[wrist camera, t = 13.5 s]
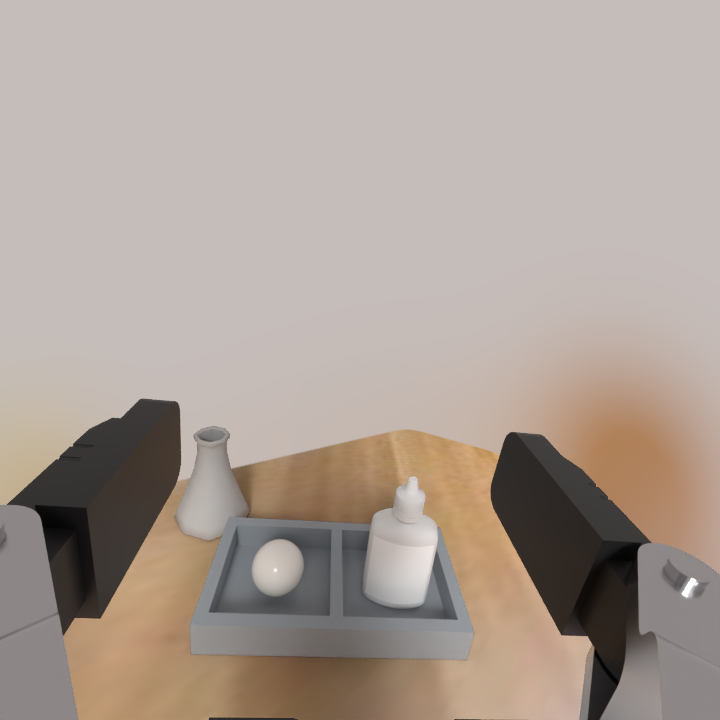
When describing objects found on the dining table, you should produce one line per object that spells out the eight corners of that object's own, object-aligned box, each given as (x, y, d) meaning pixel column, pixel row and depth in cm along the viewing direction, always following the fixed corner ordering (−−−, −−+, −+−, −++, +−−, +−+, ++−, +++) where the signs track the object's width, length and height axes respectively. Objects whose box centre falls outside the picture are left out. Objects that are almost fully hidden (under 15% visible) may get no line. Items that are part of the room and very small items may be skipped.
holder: (190, 654, 30) (189, 624, 29) (228, 541, 40) (228, 516, 39) (466, 659, 32) (474, 632, 31) (434, 550, 42) (439, 527, 41)
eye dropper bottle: (409, 629, 33) (434, 509, 29) (353, 591, 36) (369, 476, 32) (431, 593, 36) (456, 481, 32) (379, 560, 39) (396, 454, 35)
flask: (217, 485, 48) (216, 410, 45) (262, 512, 45) (265, 432, 41) (160, 519, 42) (155, 435, 39) (208, 553, 39) (206, 464, 35)
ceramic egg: (246, 608, 33) (247, 567, 31) (256, 564, 37) (257, 526, 36) (300, 610, 33) (303, 569, 32) (304, 566, 37) (307, 528, 36)
